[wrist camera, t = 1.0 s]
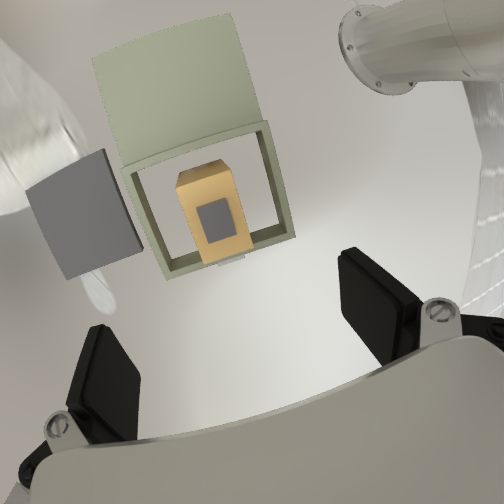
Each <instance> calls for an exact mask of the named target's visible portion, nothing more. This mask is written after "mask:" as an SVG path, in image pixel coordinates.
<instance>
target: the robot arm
mask: <svg viewBox="0 0 504 504" xmlns="http://www.w3.org/2000/svg"><path fill="white" fill-rule="evenodd" d="M338 36H339V45H340V49H341V52H342V55H343V57H344V59H345V61H346V63H347V65H348V66H349V68H350V70H351V71H352V72H353V73H354V75H355V76H356V77H357V78H358V79H359V80H360V81H361V82H362V83H363V84H364V85H366V86H367V87H369V88H370V89H372V90H374V91H376V92H378V93H381V94H385V95H401V94H404V93H407V92H409V91H410V90H412V89H413V88H414V87H415V85H416V84H417V82H420V81H484V82H504V0H403V1H400V2H398V3H395V4H393V5H390V6H388V7H385V8H382V7H379V6H374V5H362V6H358V7H356V8H354V9H352V10H351V11H349V12H348V13H347V14H346V15H345V16H344V17H343V19H342V21H341V24H340V26H339V33H338ZM338 269H339V283H340V299H341V311H342V314H343V316H344V318H345V319H346V320H347V322H348V323H349V324H350V325H351V327H352V328H353V329H354V331H355V332H356V333H357V334H358V336H359V337H360V338H361V339H362V341H363V342H364V343H365V345H366V346H367V347H368V348H369V350H370V351H371V352H372V354H373V355H374V356H375V358H376V359H377V360H378V361H379V363H380V364H381V365H382V367H381V368H378V369H376V370H374V371H372V372H370V373H367V374H366V375H363V376H361V377H359V378H357V379H354V380H352V381H350V382H347V383H345V384H343V385H341V386H338V387H336V388H333V389H331V390H328V391H326V392H323V393H321V394H318V395H316V396H313V397H310V398H308V399H305V400H302V401H299V402H296V403H294V404H291V405H288V406H285V407H282V408H279V409H276V410H273V411H270V412H266V413H263V414H260V415H256V416H253V417H249V418H246V419H242V420H239V421H235V422H231V423H227V424H223V425H219V426H214V427H210V428H205V429H201V430H196V431H191V432H186V433H181V434H175V435H169V436H163V437H156V438H149V439H142V440H137V432H138V411H139V394H140V382H141V377H140V373H139V371H138V370H137V368H136V367H135V365H134V364H133V363H132V361H131V360H130V358H129V357H128V355H127V354H126V352H125V351H124V349H123V348H122V346H121V345H120V343H119V341H118V340H117V338H116V337H115V335H114V334H113V332H112V330H111V329H110V327H108V326H107V327H106V326H105V325H104V324H100V325H97V326H93V327H90V329H89V331H88V334H87V337H86V340H85V343H84V346H83V348H82V351H81V354H80V357H79V360H78V363H77V367H76V370H75V373H74V376H73V379H72V383H71V387H70V390H69V394H68V398H67V401H66V405H67V406H68V411H61V410H60V411H57V412H55V413H53V414H52V415H51V416H50V417H49V418H48V419H47V421H46V423H45V426H44V435H45V438H46V440H45V441H44V442H43V443H42V444H41V445H40V446H39V447H38V448H37V449H36V450H35V451H34V452H33V453H31V455H29V456H28V457H27V458H26V459H25V460H24V461H23V462H22V464H21V465H20V467H19V472H18V474H19V475H18V476H19V480H20V484H19V483H18V482H16V484H15V486H14V487H13V489H12V491H11V492H10V494H9V496H8V498H7V500H6V501H5V503H4V504H504V319H503V318H498V317H487V316H475V315H465V314H460V311H459V308H458V306H457V305H456V304H455V303H454V302H452V301H451V300H449V299H446V298H440V297H439V298H432V299H429V300H428V301H426V302H425V303H423V302H422V301H421V300H420V299H419V298H418V297H417V296H416V295H415V294H414V293H413V292H411V291H410V290H409V289H408V288H407V287H405V286H404V285H403V284H402V283H401V282H399V281H398V280H397V279H395V278H394V277H393V276H392V275H391V274H390V273H388V272H387V271H386V270H385V269H383V268H382V267H381V266H379V265H378V264H377V263H376V262H374V261H373V260H372V259H371V258H369V257H368V256H367V255H365V254H364V253H363V252H362V251H360V250H359V249H358V248H356V247H352V248H349V249H346V250H343V251H342V252H341V255H340V256H338Z"/></svg>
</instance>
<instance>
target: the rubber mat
mask: <svg viewBox="0 0 504 504" xmlns="http://www.w3.org/2000/svg"><path fill="white" fill-rule="evenodd" d="M25 192H26V195H27V198H28V200H29V203H30V205H31V208H32V210H33V212H34V215H35V217H36V219H37V221H38V224H39V226H40V228H41V231H42V233H43V235H44V237H45V239H46V241H47V243H48V245H49V247H50V249H51V251H52V253H53V255H54V257H55V259H56V261H57V263H58V265H59V267H60V269H61V271H62V272H63V274H64V276H65V278H66V280H69V279H71V278H74V277H76V276H79V275H82V274H84V273H87V272H89V271H92V270H94V269H97V268H100V267H102V266H105V265H107V264H110V263H113V262H115V261H118V260H121V259H123V258H126V257H129V256H131V255H134V254H137V253H139V252H142V251H143V249H144V247H143V245H142V243H141V240H140V238H139V236H138V234H137V231H136V229H135V227H134V224H133V222H132V220H131V217H130V215H129V213H128V210H127V207H126V205H125V202H124V200H123V197H122V195H121V192H120V190H119V187H118V185H117V182H116V179H115V177H114V174H113V171H112V168H111V166H110V163H109V160H108V157H107V154H106V152H105V149H101V150H99V151H97V152H95V153H92V154H90V155H88V156H86V157H84V158H82V159H80V160H78V161H77V162H75V163H73V164H71V165H69V166H67V167H65V168H63V169H62V170H60V171H58V172H56V173H54V174H53V175H51V176H49V177H47V178H46V179H44V180H42V181H41V182H39V183H37V184H36V185H34V186H33V187H31V188H29V189H28V190H26V191H25Z"/></svg>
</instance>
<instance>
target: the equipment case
mask: <svg viewBox="0 0 504 504" xmlns="http://www.w3.org/2000/svg"><path fill="white" fill-rule="evenodd" d="M92 62H93V66H94V70H95V74H96V78H97V81H98V86H99V89H100V93H101V96H102V100H103V103H104V107H105V110H106V113H107V117H108V120H109V123H110V127H111V130H112V133H113V136H114V139H115V142H116V145H117V148H118V151H119V154H120V157H121V159H122V162H123V165H124V167H123V168H121V169H120V171H121V174H122V177H123V179H124V182H125V185H126V187H127V190H128V192H129V195H130V198H131V200H132V203H133V205H134V208H135V210H136V213H137V215H138V218H139V220H140V223H141V225H142V227H143V229H144V232H145V234H146V237H147V239H148V241H149V244H150V246H151V248H152V250H153V253H154V255H155V257H156V259H157V261H158V264H159V266H160V268H161V270H162V272H163V274H164V276H165V278H166V280H169V279H172V278H175V277H178V276H181V275H184V274H187V273H190V272H193V271H196V270H199V269H202V268H205V267H208V266H211V265H214V264H217V263H218V266H221V265H224V264H227V263H230V262H233V261H236V260H239V259H242V258H245V255H244V254H247V253H250V252H253V251H256V250H259V249H261V248H265V247H267V246H271V245H274V244H277V243H279V242H283V241H286V240H289V239H292V238H295V237H296V235H295V231H294V227H293V222H292V217H291V213H290V209H289V204H288V200H287V196H286V191H285V187H284V183H283V179H282V175H281V171H280V167H279V163H278V159H277V155H276V151H275V147H274V143H273V139H272V136H271V132H270V128H269V124H268V121H267V120H265V121H263V119H262V115H261V112H260V108H259V104H258V101H257V98H256V94H255V91H254V87H253V83H252V80H251V77H250V73H249V70H248V67H247V63H246V60H245V57H244V54H243V50H242V47H241V44H240V41H239V37H238V34H237V32H236V28H235V25H234V22H233V19H232V16H231V13H229V14H224V15H218V16H213V17H209V18H205V19H200V20H196V21H192V22H189V23H185V24H182V25H178V26H174V27H171V28H168V29H165V30H162V31H158V32H156V33H153V34H150V35H147V36H144V37H141V38H139V39H136V40H134V41H131V42H128V43H126V44H123V45H121V46H119V47H116V48H114V49H112V50H110V51H107V52H105V53H103V54H101V55H99V56H97V57H95V58H93V59H92ZM252 132H256V135H257V139H258V143H259V146H260V150H261V153H262V157H263V161H264V165H265V169H266V173H267V176H268V180H269V184H270V188H271V192H272V196H273V200H274V204H275V208H276V212H277V215H278V220H279V224H277V225H273V226H270V227H267V228H264V229H261V230H258V231H255V232H252V233H250V236H251V240H252V243H253V247H254V248H252V249H249V250H246V251H243V252H240V253H237V254H234V255H231V256H228V257H225V258H222V259H219V260H216V261H213V262H210V263H208V264H205V265H204V263H203V261H202V258H201V256H200V253H199V251H195V252H192V253H189V254H187V255H184V256H181V257H178V258H175V259H171V257H170V255H169V252H168V250H167V248H166V245H165V243H164V240H163V238H162V235H161V233H160V231H159V228H158V226H157V223H156V221H155V218H154V216H153V213H152V211H151V208H150V206H149V203H148V200H147V198H146V195H145V193H144V190H143V187H142V185H141V182H140V179H139V176H138V174H137V171H139V170H141V169H144V168H146V167H149V166H151V165H154V164H156V163H159V162H162V161H164V160H167V159H170V158H173V157H175V156H178V155H181V154H184V153H187V152H190V151H193V150H196V149H199V148H201V147H205V146H208V145H211V144H214V143H218V142H221V141H224V140H227V139H231V138H234V137H238V136H241V135H245V134H248V133H252Z"/></svg>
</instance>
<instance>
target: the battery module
mask: <svg viewBox="0 0 504 504" xmlns="http://www.w3.org/2000/svg"><path fill="white" fill-rule="evenodd" d="M175 189H176V192H177V195H178V197H179V200H180V203H181V206H182V208H183V211H184V214H185V217H186V219H187V222H188V224H189V227H190V230H191V233H192V235H193V238H194V240H195V243H196V246H197V248H198V251H199V253H200V256H201V258H202V261H203V263H204V265H205V264H208V263H210V262H213V261H216V260H219V259H222V258H225V257H228V256H231V255H234V254H237V253H240V252H243V251H246V250H249V249H252V248H254V247H253V243H252V240H251V236H250V233H249V230H248V226H247V223H246V220H245V216H244V213H243V209H242V206H241V203H240V199H239V196H238V193H237V190H236V186H235V183H234V179H233V176H232V173H231V170H230V168H229V167H228V166H227V165H226V164H225V163H224V162H223V161H222V160H221V159H219V160H216V161H213V162H210V163H207V164H204V165H201V166H198V167H195V168H192V169H189V170H186V171H183V172H180V174H179V177H178V180H177V184H176V188H175Z"/></svg>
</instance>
